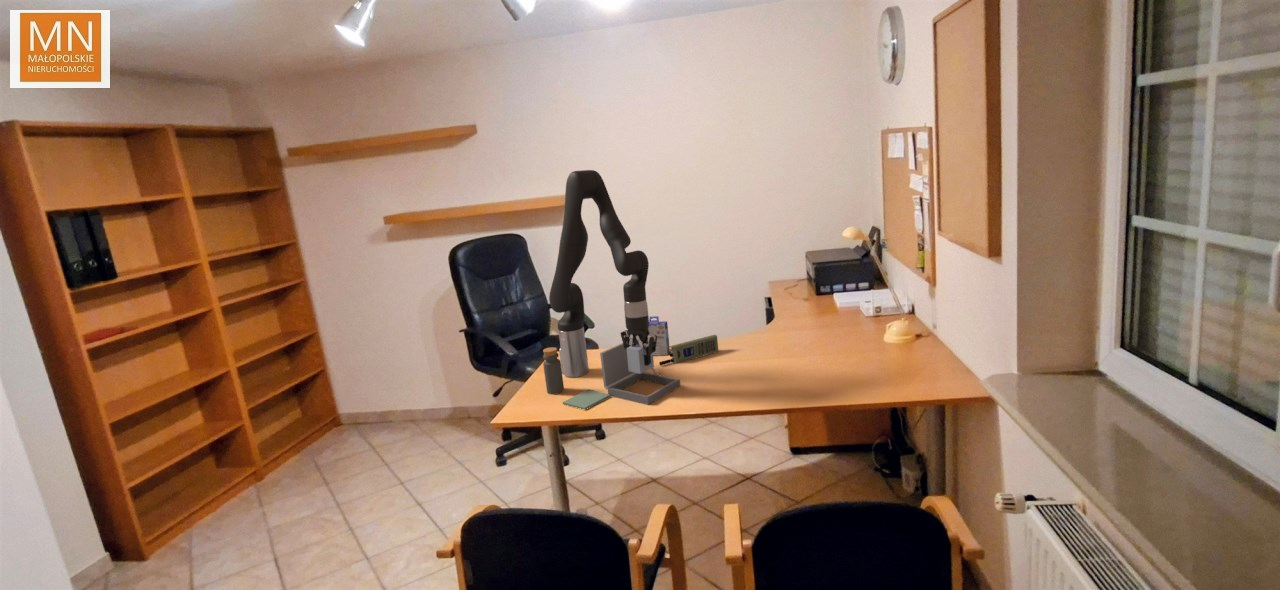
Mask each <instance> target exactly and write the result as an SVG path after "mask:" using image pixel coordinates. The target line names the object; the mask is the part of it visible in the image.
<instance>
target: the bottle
mask: <svg viewBox="0 0 1280 590" xmlns="http://www.w3.org/2000/svg"><path fill="white" fill-rule="evenodd" d="M542 352H543V355H542V357H543V359H544V361H543V362H542V365H543V372H544V373H543V374H544V381H545V387H546V393H547V394H549V395H557V394H561V393H563V392H564V391H565V388H564V387H565V385H564V379H563V378H564V377H563V374H562V369H561V361H560V359H559V358H558V357H560V354H559V353H558V348H557V347H546V348H544V349H543V350H542Z"/></svg>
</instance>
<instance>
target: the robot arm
mask: <svg viewBox="0 0 1280 590" xmlns="http://www.w3.org/2000/svg"><path fill="white" fill-rule="evenodd" d="M564 194H565V196H564V197H565V198H564V200H565V201H564V213H563V221H562V229H561V233H560V240H559V247H558V255H557V261H556V267H555V272H554V276H553V280H552V283H551V288H550V291H549V299H548V300H549V305H550V307H551V309H552V311H554V312H555V313H557V314H560V313H563V315H562V316H561V318H560V319H559V320H558V321H557V331H558V332H557V333H558V339H559V346H560V348H559V350H558V352H559V353H558V354H559V358H560V359H559V360H560V362H561V369H562V375H564V376H565V377H566V378H578V377H583V376H585V375H587V374H588V373H589V372H590V368H589V360H588V352H587V342H586V335H585V326H584V320H585V316H586V315H585V302H584V294H583V291H582V289H581V286H579V285H578V284H577V283H574V282H572V281H573V278H574V275H575V274H576V272H577V270H578V269H579V267H580V265H581V264H582V262H583V260H584V259H585V256H586V253H587V247H588V242H589V234H588V231H587V228H586V226H585V225H586V224H585V223H584V221H583V218H582V208H583V201H584V200H586V199H587V200H588V199H592V200H593V202H594V203H595V204H596V206H597V208H598V213H599V229H600V232H601V234H602V236H603V238H604V239H605V241H606V243H607V245H608V247H609V248H610V252H611V256H612V260H613V264H614V267H615V270H616V271H617V272H618V273H619V274H620V275H622V276H623V277H628V276H631V277H630V279H629V280H628V281H626V282H625V283H624V284H623V288H622V289H623V302H624V304H623V305H624V306H623V308H624V319H625V328H626V329H627V330H626V329H625V330H623V331H621V332H620V337H621V340H622V343H623V345H624V348H625V349H627V348H628V347H630V346H631V347H632V346H634V345H636V344H639V345H640V348H643V353H644V364H645V366H648V365H650V363H651V353H653V352H655V351H656V343H657V336H656V335H654V336H653V335H651V334H650V333H649V331H648V328H649V319H650V316H649V308H648V302H647V294H646V293H647V292H646V284H647V279H648V272H649V259H648V257H647V255H646V253H645V252H644V251H642V250H634V251H629V252H627V251H626V249H627V248H628V247H629V246H630V245H631V238H630V236H629V234H628V232H627V230H626V229H625V227H624V226H623V224H622V222H621V220H620V218H619V216H618V215H617V212H616V210H615V208H614V205H613V202H612V200H611V197H610V193H609V192H608V190H607V186H606V184H605V181H604V179H603V178H602V176H601V175H600V173H599V172H598V171H596V170H593V169H585V170H583V169H582V170H574V171H571V172H570V173H569V175H568V176H567V178H566V184H565V193H564ZM648 339H649V340H648ZM644 343H646V344H645V345H643V344H644ZM627 344H628V345H627ZM646 347H647V350H646Z"/></svg>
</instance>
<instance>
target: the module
mask: <svg viewBox="0 0 1280 590" xmlns="http://www.w3.org/2000/svg"><path fill="white" fill-rule="evenodd" d="M645 344H646V343H644V344H643V345H645ZM646 350H647V347H646ZM627 359H628V369H629V372H634V373H639V374H641V373H643V372H647V371H648V370H652V369H651V368H654V367H655V364H654V363H655V362H654V361H655V360H654V355H653V353H651V363H650V365H648V366H645V364H644V353H643V348H640V345H639V344H636V345H634V346H632V347H631V346H630V347H628V348H627Z"/></svg>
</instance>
